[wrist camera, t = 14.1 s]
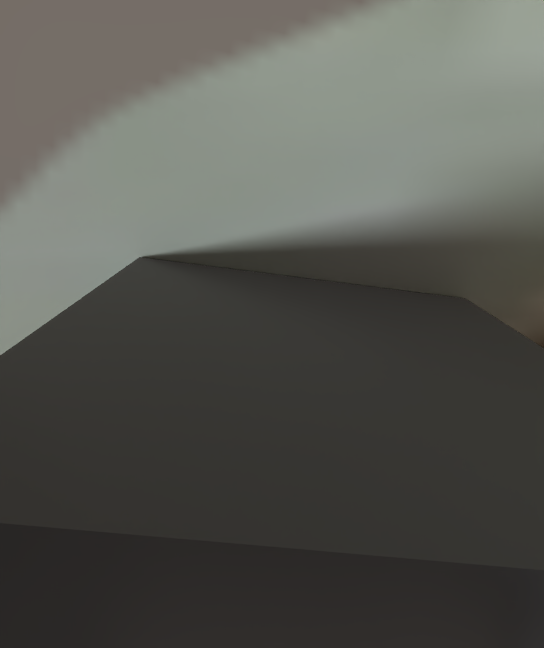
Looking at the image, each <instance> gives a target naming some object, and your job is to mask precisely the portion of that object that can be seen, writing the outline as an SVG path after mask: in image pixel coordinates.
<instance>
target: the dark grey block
mask: <svg viewBox="0 0 544 648" xmlns="http://www.w3.org/2000/svg"><path fill="white" fill-rule="evenodd" d="M0 648H544V348H543V347H541V346H540V345H538V344H536V343H535V342H533V341H532V340H530V339H528V338H527V337H525V336H524V335H522V334H521V333H519V332H517V331H516V330H514V329H513V328H511V327H509V326H508V325H506V324H505V323H503V322H502V321H500V320H498V319H497V318H495V317H494V316H492V315H490V314H489V313H487V312H486V311H484V310H483V309H481V308H479V307H478V306H476V305H475V304H473V303H471V302H470V301H468V300H467V299H465V298H457V297H449V296H441V295H433V294H425V293H417V292H410V291H402V290H394V289H386V288H378V287H370V286H362V285H354V284H346V283H339V282H331V281H323V280H315V279H307V278H299V277H291V276H283V275H275V274H268V273H260V272H252V271H244V270H236V269H228V268H220V267H212V266H204V265H197V264H189V263H181V262H173V261H165V260H157V259H149V258H141V257H139V258H138V259H136V260H135V261H134V262H132V263H131V264H129V265H128V266H126V267H125V268H124V269H122V270H121V271H119V272H118V273H117V274H115V275H114V276H112V277H111V278H109V279H108V280H107V281H105V282H104V283H102V284H101V285H100V286H98V287H97V288H95V289H94V290H92V291H91V292H90V293H88V294H87V295H85V296H84V297H83V298H81V299H80V300H78V301H77V302H75V303H74V304H73V305H71V306H70V307H68V308H67V309H66V310H64V311H63V312H61V313H60V314H59V315H57V316H56V317H54V318H53V319H51V320H50V321H49V322H47V323H46V324H44V325H43V326H42V327H40V328H39V329H37V330H36V331H34V332H33V333H32V334H30V335H29V336H27V337H26V338H25V339H23V340H22V341H20V342H19V343H17V344H16V345H15V346H13V347H12V348H10V349H9V350H8V351H6V352H5V353H3V354H2V355H0Z"/></svg>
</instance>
